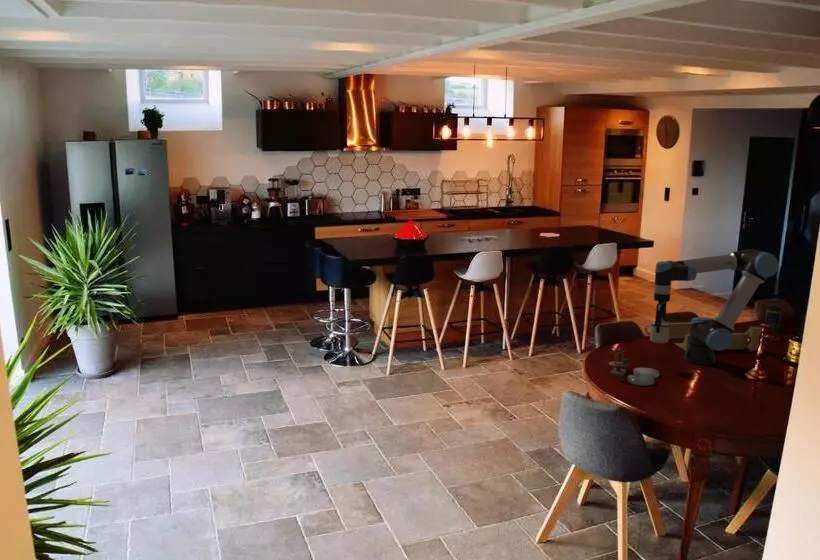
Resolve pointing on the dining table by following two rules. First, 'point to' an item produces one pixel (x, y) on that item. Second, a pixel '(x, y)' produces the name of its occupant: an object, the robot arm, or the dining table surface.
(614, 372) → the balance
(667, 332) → the teacup with lid
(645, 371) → the dish
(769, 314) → the coffee jar
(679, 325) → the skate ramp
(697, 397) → the dining table surface
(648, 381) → the dish
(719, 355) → the dining table surface
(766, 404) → the dining table surface
